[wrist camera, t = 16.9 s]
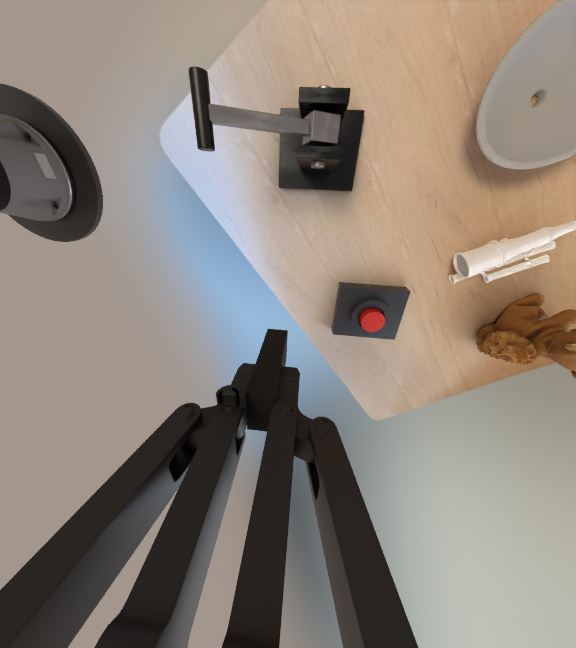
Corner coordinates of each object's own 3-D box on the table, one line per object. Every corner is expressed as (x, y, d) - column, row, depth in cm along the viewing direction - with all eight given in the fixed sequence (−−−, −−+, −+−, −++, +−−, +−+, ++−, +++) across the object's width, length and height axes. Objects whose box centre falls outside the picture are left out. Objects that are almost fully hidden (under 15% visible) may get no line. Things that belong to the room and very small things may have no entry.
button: (357, 326, 41) (358, 331, 40) (361, 306, 39) (363, 310, 38) (379, 328, 41) (381, 333, 40) (384, 308, 39) (387, 312, 38)
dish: (460, 196, 33) (482, 195, 29) (445, 76, 28) (470, 53, 23) (615, 125, 28) (671, 111, 24) (636, -39, 23) (714, -97, 18)
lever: (198, 151, 21) (197, 146, 19) (189, 75, 18) (187, 61, 16) (325, 164, 25) (335, 161, 23) (331, 102, 22) (343, 94, 20)
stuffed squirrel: (550, 333, 42) (639, 382, 31) (466, 356, 46) (517, 407, 35) (551, 287, 38) (653, 324, 27) (459, 317, 42) (514, 360, 31)
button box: (331, 328, 46) (333, 339, 43) (339, 282, 41) (341, 289, 38) (391, 333, 45) (397, 344, 42) (405, 287, 41) (414, 295, 37)
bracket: (279, 187, 35) (262, 180, 23) (281, 111, 31) (261, 53, 19) (350, 191, 34) (371, 185, 22) (362, 113, 30) (396, 54, 18)
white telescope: (537, 233, 36) (558, 260, 34) (442, 268, 40) (456, 294, 38) (576, 196, 29) (605, 228, 27) (456, 243, 33) (474, 274, 31)
